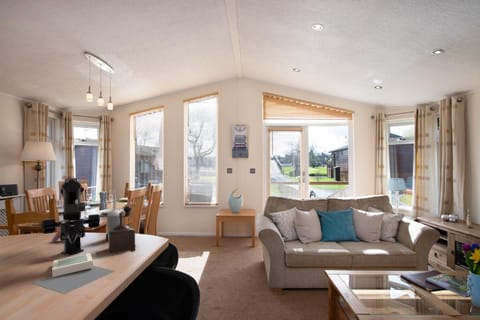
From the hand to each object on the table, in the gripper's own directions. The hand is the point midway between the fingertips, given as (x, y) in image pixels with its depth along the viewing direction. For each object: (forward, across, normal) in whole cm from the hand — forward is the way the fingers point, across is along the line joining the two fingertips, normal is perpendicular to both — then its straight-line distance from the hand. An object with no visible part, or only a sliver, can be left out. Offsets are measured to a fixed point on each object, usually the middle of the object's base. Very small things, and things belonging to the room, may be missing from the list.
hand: (72, 242), depth 100 cm
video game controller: (-24, -3, +38) cm, 45 cm away
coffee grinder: (-5, +19, +19) cm, 27 cm away
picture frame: (+10, 0, +1) cm, 10 cm away
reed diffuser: (-18, +18, +31) cm, 40 cm away
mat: (+14, +1, 0) cm, 14 cm away
